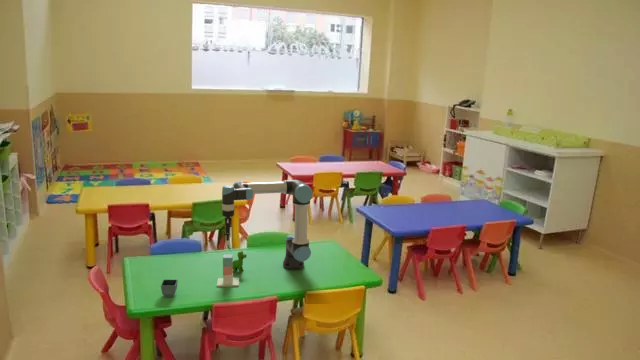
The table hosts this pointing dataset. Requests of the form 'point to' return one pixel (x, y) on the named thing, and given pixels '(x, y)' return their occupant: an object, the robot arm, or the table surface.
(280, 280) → the table surface
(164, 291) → the flower pot
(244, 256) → the toy
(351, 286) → the table surface
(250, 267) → the table surface
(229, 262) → the brick teal
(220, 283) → the plate
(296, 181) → the robot arm
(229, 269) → the brick coral
